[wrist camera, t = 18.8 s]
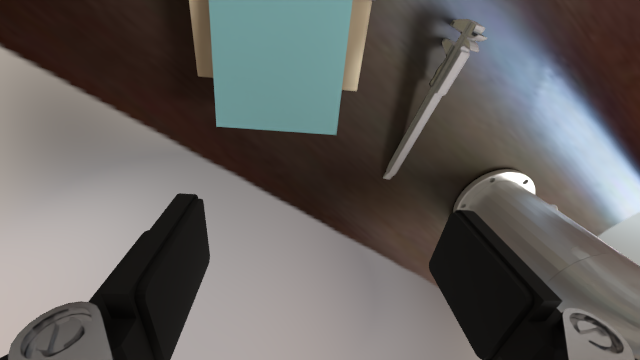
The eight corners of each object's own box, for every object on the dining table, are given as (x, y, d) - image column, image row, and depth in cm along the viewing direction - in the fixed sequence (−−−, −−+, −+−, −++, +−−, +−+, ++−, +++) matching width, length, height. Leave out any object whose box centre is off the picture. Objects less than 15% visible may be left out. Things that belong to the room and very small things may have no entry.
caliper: (449, 19, 29) (486, 17, 23) (458, 22, 29) (496, 20, 24) (381, 176, 38) (396, 201, 33) (388, 178, 38) (404, 202, 33)
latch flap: (350, 0, 23) (352, -2, 22) (334, 132, 28) (336, 134, 27) (210, -19, 22) (207, -23, 21) (219, 124, 26) (216, 126, 26)
